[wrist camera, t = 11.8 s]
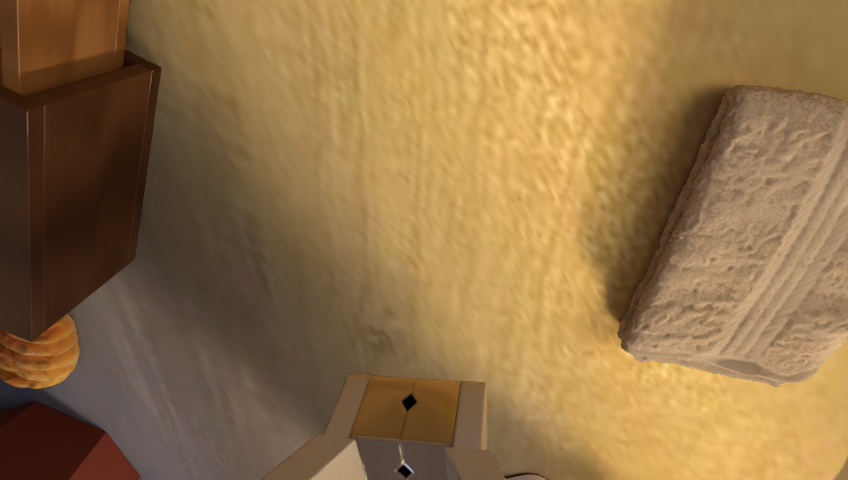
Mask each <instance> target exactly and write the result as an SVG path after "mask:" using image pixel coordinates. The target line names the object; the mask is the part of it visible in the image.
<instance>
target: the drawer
mask: <svg viewBox="0 0 848 480" xmlns="http://www.w3.org/2000/svg"><path fill="white" fill-rule="evenodd" d="M128 10H129V0H0V85H2V86H4V87H6V88H8V89H10V90H12V91H14V92H16V93H18V94H20V95H23V96H25V97H26V96H28V95H31V94H34V93H38V92H41V91H45V90H48V89H52V88H55V87H59V86H62V85H66V84H69V83H72V82H76V81H79V80H83V79H86V78H90V77H93V76H97V75H100V74H103V73H107V72H110V71H114V70H117V69H121V68H123V63H124V52H125V42H126V31H127V21H128Z"/></svg>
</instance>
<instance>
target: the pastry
mask: <svg viewBox="0 0 848 480" xmlns="http://www.w3.org/2000/svg"><path fill="white" fill-rule="evenodd" d="M76 330H77V329H76V326H75V322H74V321H73V318H71V317H70V316H69V314H68V313H67V314H66V315H65V316H64V317H62V318H61V319H60V320H59V321H57V322H56V323H55V324H54V325H52V326H51V327H50V328H49V329H47V330H46V331H45V332H43V333H42V334H41V335H40V336H39V337H37V338H36V339H35V340H34V341H32V342H30V341H27V340H25V339H22V338H20V337H18V336H15V335H13V334H11V333H8V332H6V331H4V330H1V329H0V378H1V379H2V380H3V381H4V382H6V383H8V384H10V385H12V386H15V387H21V388H24V387H29V388H32V389H38V388H45V387H49V386H52V385H55V384H58V383H60V382H62V381H64V380H65V379H66V377H67V376H68V375H69V374H70V373H71V372H72V371H73V370H74V369H75V366H76V364H77V362H78V361H77V360H78V357H79V354H80V353H79V345H78V335H77V333H76Z"/></svg>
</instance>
